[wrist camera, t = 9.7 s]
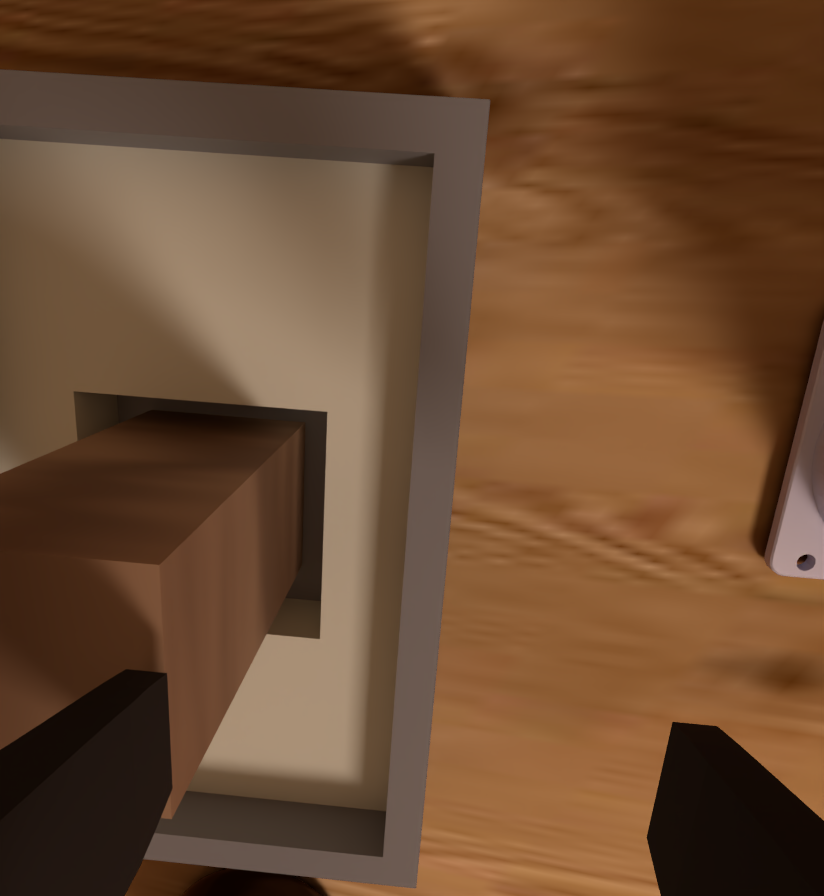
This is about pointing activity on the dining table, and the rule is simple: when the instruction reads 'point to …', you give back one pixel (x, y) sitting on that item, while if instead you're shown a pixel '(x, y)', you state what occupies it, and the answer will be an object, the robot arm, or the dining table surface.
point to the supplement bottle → (249, 884)
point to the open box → (267, 400)
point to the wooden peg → (148, 567)
